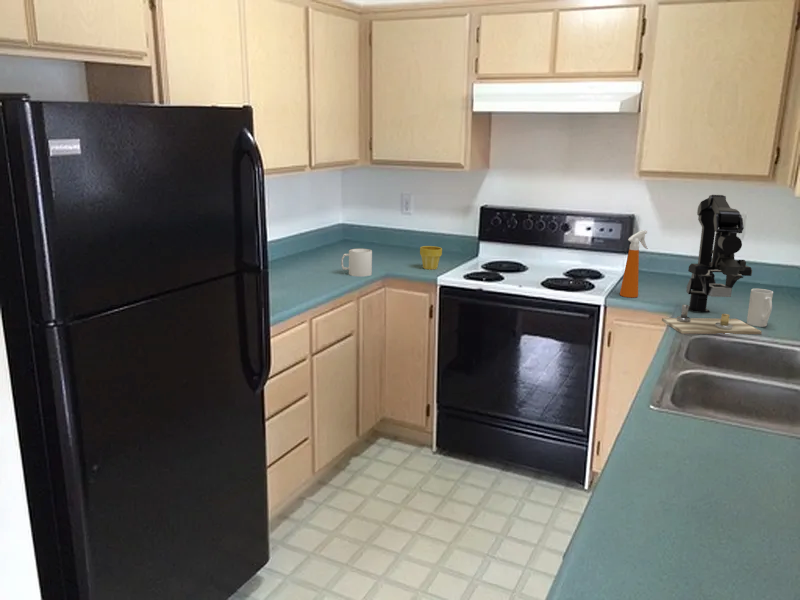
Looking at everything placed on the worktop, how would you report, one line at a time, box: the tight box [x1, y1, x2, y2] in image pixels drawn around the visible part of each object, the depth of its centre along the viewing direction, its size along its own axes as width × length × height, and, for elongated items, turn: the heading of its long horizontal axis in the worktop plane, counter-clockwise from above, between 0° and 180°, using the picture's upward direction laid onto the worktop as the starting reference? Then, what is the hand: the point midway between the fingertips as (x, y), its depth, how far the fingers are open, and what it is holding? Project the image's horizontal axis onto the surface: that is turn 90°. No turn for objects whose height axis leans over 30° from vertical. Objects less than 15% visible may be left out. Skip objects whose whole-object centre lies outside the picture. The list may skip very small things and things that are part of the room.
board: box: [661, 317, 762, 335], centre depth 223 cm, size 15×27×1 cm, turn 93°
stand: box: [676, 304, 692, 322], centre depth 227 cm, size 4×4×6 cm
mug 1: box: [340, 248, 373, 277], centre depth 292 cm, size 14×10×11 cm
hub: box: [715, 313, 733, 330], centre depth 219 cm, size 5×5×4 cm
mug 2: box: [746, 288, 774, 328], centre depth 225 cm, size 10×7×12 cm, turn 1°
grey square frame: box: [703, 283, 733, 298], centre depth 219 cm, size 6×6×3 cm
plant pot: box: [419, 245, 443, 270], centre depth 308 cm, size 10×10×10 cm
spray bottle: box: [619, 229, 649, 299], centre depth 263 cm, size 7×11×26 cm, turn 117°
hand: (716, 294), depth 219 cm, fingers closed on grey square frame, 6 cm apart
